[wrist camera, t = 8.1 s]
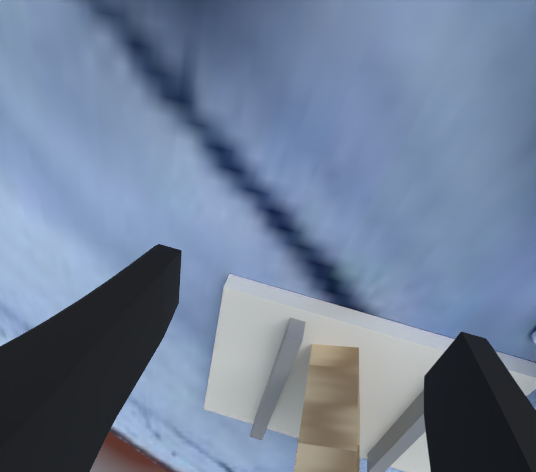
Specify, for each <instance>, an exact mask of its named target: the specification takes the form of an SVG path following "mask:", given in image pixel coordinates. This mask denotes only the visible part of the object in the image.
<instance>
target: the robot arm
mask: <svg viewBox="0 0 536 472" xmlns="http://www.w3.org/2000/svg"><path fill="white" fill-rule="evenodd" d="M180 269H181V250H178V249H174V248H171V247H167V246H164V245H160V244H158V245H156V246H154V247H153V248H152V249H150V250H149V251H148V252H146V253H145V254H144V255H142V256H141V257H140V258H138V259H137V260H136V261H134V262H133V263H132V264H130V265H129V266H128V267H126V268H125V269H123V270H122V271H121V272H119V273H118V274H116V275H115V276H114V277H112V278H111V279H109V280H108V281H107V282H105V283H104V284H102V285H101V286H99V287H98V288H96V289H95V290H93V291H92V292H90V293H89V294H88V295H86V296H85V297H83V298H82V299H80V300H79V301H77V302H75V303H74V304H72V305H71V306H69V307H67V308H66V309H64V310H63V311H61V312H59V313H58V314H56V315H54V316H53V317H51V318H50V319H48V320H46V321H45V322H43V323H41V324H40V325H38V326H36V327H35V328H33V329H31V330H29V331H28V332H26V333H24V334H22V335H20V336H19V337H17V338H15V339H13V340H11V341H9V342H8V343H6V344H4V345H2V346H0V472H89V471H90V469H91V467H92V465H93V463H94V461H95V459H96V457H97V455H98V452H99V450H100V448H101V446H102V444H103V442H104V440H105V438H106V436H107V434H108V432H109V430H110V428H111V426H112V425H113V423H114V421H115V419H116V417H117V415H118V414H119V412H120V410H121V409H122V407H123V405H124V404H125V402H126V400H127V398H128V397H129V395H130V393H131V392H132V390H133V388H134V387H135V385H136V383H137V382H138V380H139V378H140V376H141V375H142V373H143V371H144V370H145V368H146V366H147V365H148V363H149V361H150V360H151V358H152V356H153V354H154V353H155V351H156V349H157V348H158V346H159V344H160V342H161V341H162V339H163V337H164V335H165V333H166V330H167V328H168V326H169V324H170V322H171V319H172V317H173V315H174V312H175V310H176V308H177V306H178V303H179V286H180ZM532 340H533V342H534V343H535V344H536V331H535V332H534V333H533V334H532ZM424 421H425V430H426V438H427V446H428V454H429V462H430V469H431V472H536V410H535V409H534V408H533V406H532V405H531V403H530V402H529V400H528V399H527V397H526V396H525V394H524V393H523V391H522V390H521V388H520V387H519V386H518V384H517V383H516V381H515V380H514V378H513V377H512V375H511V374H510V372H509V371H508V369H507V368H506V366H505V365H504V363H503V362H502V360H501V359H500V358H499V356H498V355H497V353H496V352H495V350H494V349H493V347H492V346H491V345H490V343H489V342H488V341H487V339H485V338H482V337H478V336H475V335H471V334H468V333H464V332H461V333H460V334H459V335H458V336H457V338H456V339H455V340H454V341H453V342H452V344H451V345H450V346H449V347H448V348H447V350H446V351H445V352H444V353H443V354H442V355H441V357H440V358H439V359H438V360H437V361H436V363H435V364H434V365H433V366H432V367H431V369H430V370H429V371H428V372H427V373H426V375H425V376H424Z"/></svg>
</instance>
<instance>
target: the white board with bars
mask: <svg viewBox="0 0 536 472" xmlns="http://www.w3.org/2000/svg"><path fill="white" fill-rule="evenodd" d="M454 340H455V339H452V338H449V337H445V336H442V335H438V334H435V333H431V332H428V331H425V330H421V329H418V328H414V327H411V326H407V325H404V324H401V323H397V322H394V321H390V320H387V319H383V318H380V317H376V316H373V315H370V314H366V313H363V312H359V311H356V310H352V309H349V308H346V307H342V306H339V305H335V304H332V303H328V302H325V301H321V300H318V299H315V298H311V297H308V296H304V295H301V294H297V293H294V292H291V291H287V290H284V289H280V288H277V287H273V286H270V285H266V284H263V283H260V282H256V281H253V280H249V279H246V278H242V277H239V276H236V275H232V274H229V276H228V278H227V281H226V283H225V285H224V289H223V295H222V301H221V307H220V313H219V319H218V325H217V331H216V337H215V343H214V349H213V355H212V361H211V368H210V374H209V380H208V386H207V392H206V398H205V404H204V409H205V410H208V411H211V412H214V413H218V414H221V415H224V416H227V417H231V418H234V419H237V420H240V421H243V422H247V423H250V424H253V427H252V431H251V435H250V437H253V438H256V439H259V440H262V438H263V436H264V433H265V431H266V429H269V430H272V431H276V432H279V433H282V434H285V435H289V436H292V437H295V438H298V439H299V432H300V425H301V418H302V411H303V404H304V397H305V390H306V383H307V376H308V369H309V362H310V355H311V348H312V344H319V345H332V346H345V347H358V348H359V397H360V458H363V459H366V460H367V472H385V471H386V470H387V469H388V468H389V467H392V468H395V469H398V470H401V471H405V472H431V469H430V462H429V454H428V446H427V438H426V430H425V421H424V376H425V375H426V373H427V372H428V371H429V370H430V369H431V367H432V366H433V365H434V364H435V363H436V361H437V360H438V359H439V358H440V357H441V355H442V354H443V353H444V352H445V351H446V350H447V348H448V347H449V346H450V345H451V344H452V342H453V341H454ZM495 352H496V353H497V355H498V356H499V358H500V359H501V360H502V362H503V363H504V365H505V366H506V368H507V369H508V371H509V372H510V374H511V375H512V377H513V378H514V380H515V381H516V383H517V384H518V386H519V387H520V388H521V390H522V391H523V393H524V394H525V396H528V395H529V394H530V393H531V392H533V391H534V390H535V389H536V363H535V362H531V361H528V360H524V359H521V358H517V357H514V356H511V355H507V354H504V353H500V352H497V351H495Z"/></svg>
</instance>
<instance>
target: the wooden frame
mask: <svg viewBox="0 0 536 472" xmlns="http://www.w3.org/2000/svg"><path fill="white" fill-rule="evenodd" d="M359 461H360V397H359V348H358V347H345V346H332V345H319V344H312V348H311V355H310V362H309V369H308V376H307V383H306V390H305V397H304V404H303V411H302V418H301V425H300V432H299V439H298V446H297V453H296V460H295V467H294V472H359Z"/></svg>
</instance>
